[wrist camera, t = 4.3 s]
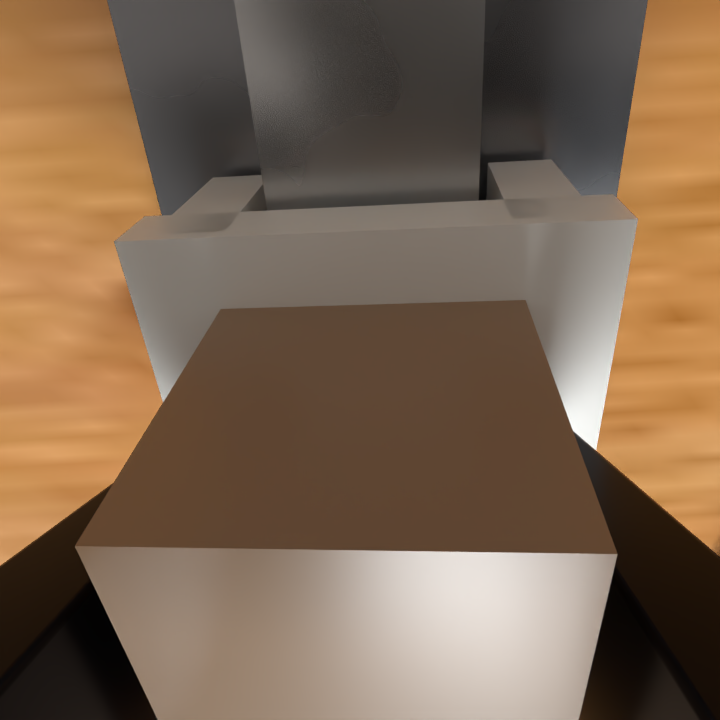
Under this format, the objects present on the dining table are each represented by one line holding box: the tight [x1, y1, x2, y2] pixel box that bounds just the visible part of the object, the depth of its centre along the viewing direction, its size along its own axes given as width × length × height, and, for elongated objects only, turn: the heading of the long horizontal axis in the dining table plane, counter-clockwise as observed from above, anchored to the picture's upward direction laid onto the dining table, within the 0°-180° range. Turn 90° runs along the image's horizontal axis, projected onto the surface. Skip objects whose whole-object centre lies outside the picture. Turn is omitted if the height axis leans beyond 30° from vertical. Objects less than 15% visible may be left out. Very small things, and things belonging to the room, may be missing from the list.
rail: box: [107, 0, 648, 216], centre depth 11 cm, size 16×8×3 cm, turn 4°
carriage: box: [75, 159, 638, 720], centre depth 8 cm, size 6×6×7 cm
